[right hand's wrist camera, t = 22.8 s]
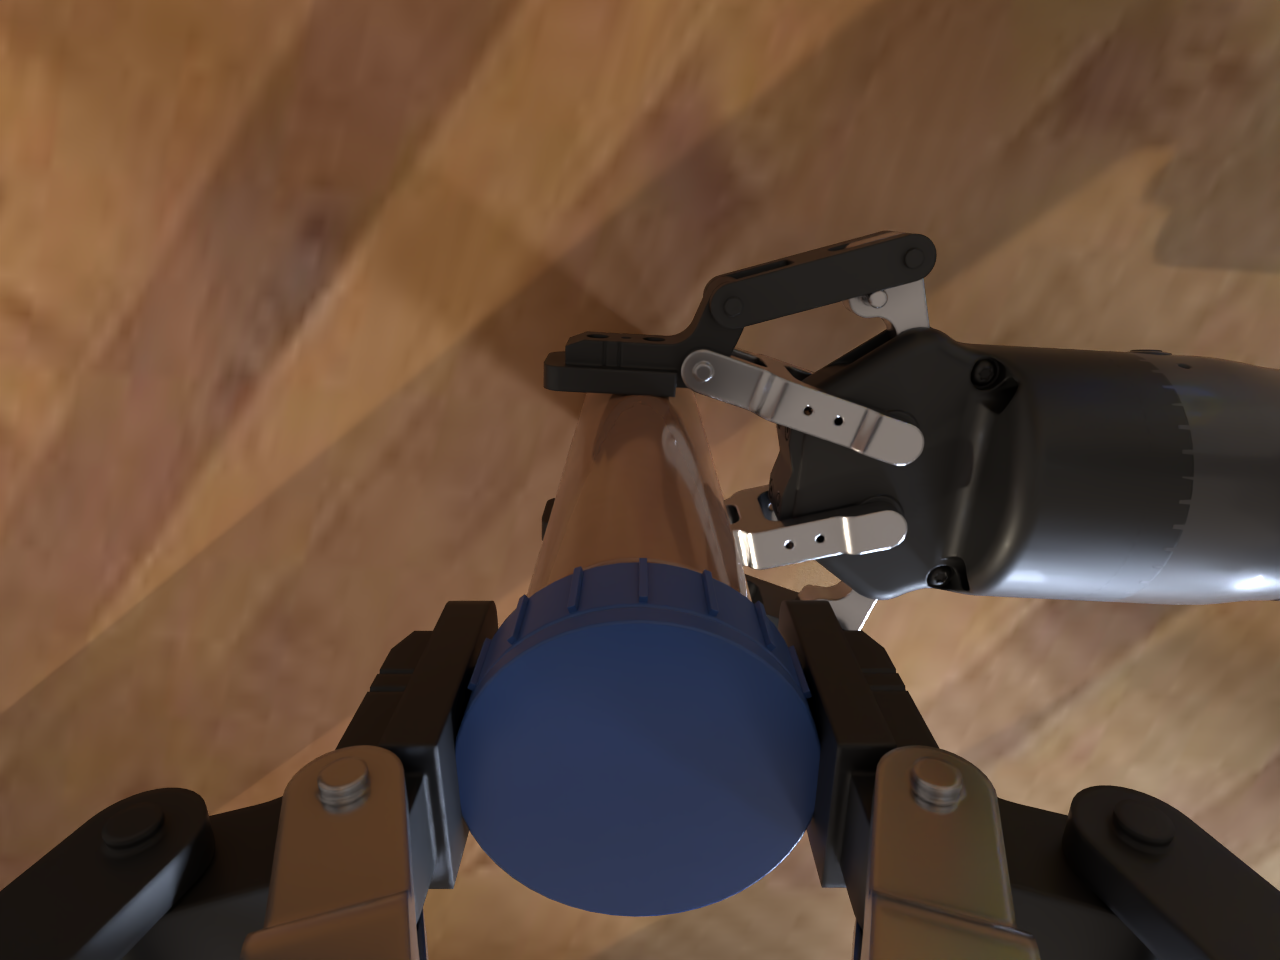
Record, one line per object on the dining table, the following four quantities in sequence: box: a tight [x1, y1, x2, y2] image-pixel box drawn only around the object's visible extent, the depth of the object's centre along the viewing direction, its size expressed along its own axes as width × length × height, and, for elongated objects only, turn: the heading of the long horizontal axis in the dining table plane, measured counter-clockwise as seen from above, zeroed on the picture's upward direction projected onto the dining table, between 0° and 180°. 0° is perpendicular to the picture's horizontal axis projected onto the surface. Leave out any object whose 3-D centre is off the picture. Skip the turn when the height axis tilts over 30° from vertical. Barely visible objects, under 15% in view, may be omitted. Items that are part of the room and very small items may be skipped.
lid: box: [455, 558, 821, 916], centre depth 10 cm, size 5×5×2 cm
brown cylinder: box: [527, 388, 752, 602], centre depth 19 cm, size 4×4×19 cm
